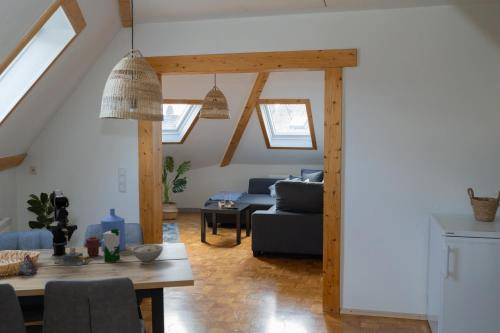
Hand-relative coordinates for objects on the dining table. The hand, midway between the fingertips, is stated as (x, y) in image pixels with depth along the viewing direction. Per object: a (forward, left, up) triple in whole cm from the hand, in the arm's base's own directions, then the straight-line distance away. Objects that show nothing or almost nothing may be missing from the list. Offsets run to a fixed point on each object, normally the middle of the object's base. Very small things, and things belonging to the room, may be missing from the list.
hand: (62, 240), depth 302 cm
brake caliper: (-4, -27, -13) cm, 30 cm away
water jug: (+15, +34, -13) cm, 39 cm away
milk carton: (+29, +9, -13) cm, 33 cm away
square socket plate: (+7, +1, -13) cm, 15 cm away
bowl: (+53, +10, -13) cm, 56 cm away
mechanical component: (+11, +16, -13) cm, 23 cm away
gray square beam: (+7, 0, -12) cm, 14 cm away
